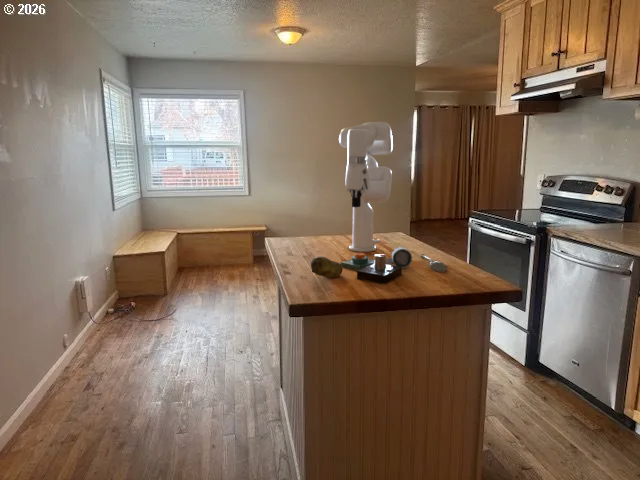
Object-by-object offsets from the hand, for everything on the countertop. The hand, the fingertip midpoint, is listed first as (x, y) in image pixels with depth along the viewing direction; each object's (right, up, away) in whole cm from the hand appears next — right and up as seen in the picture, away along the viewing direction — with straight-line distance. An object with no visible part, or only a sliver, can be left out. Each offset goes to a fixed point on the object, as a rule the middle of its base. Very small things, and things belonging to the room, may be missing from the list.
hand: (356, 206), depth 179 cm
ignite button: (+1, -21, -5) cm, 21 cm away
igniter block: (+1, -24, -4) cm, 24 cm away
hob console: (+7, -27, -19) cm, 34 cm away
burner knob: (+7, -24, -20) cm, 32 cm away
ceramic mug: (+16, -24, -4) cm, 29 cm away
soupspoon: (+30, -24, -2) cm, 38 cm away
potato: (-12, -27, -20) cm, 36 cm away
